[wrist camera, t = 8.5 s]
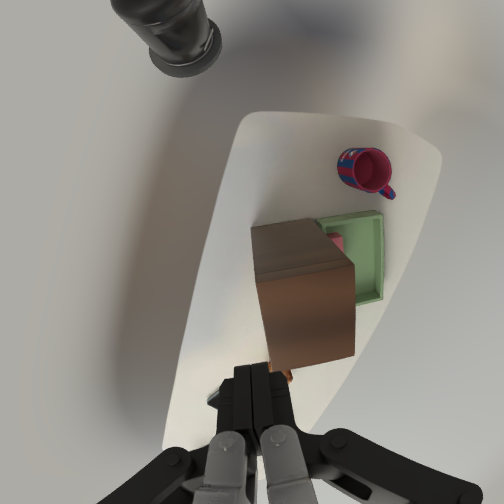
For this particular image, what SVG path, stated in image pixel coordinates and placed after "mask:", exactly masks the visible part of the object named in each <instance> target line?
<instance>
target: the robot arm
mask: <svg viewBox="0 0 504 504" xmlns="http://www.w3.org/2000/svg"><path fill="white" fill-rule="evenodd" d="M110 1H111V5H112V8H113V10H114V11H115V12H116V14H118V16H119V17H121V19H123V20H124V21H125V22H126V23H127V24H128V25H129V26H130V27H131V28H132V29H133V30H134V31H135V32H136V33H137V34H138V35H139V36H140V38H141V39H142V40H143V41H144V42H145V43H146V44H147V45H148V46H149V47H150V48H151V49H152V50H153V51H154V52H155V53H156V54H157V56H158V57H159V59H160V60H161V61H162V62H164V63H165V64H167V65H169V66H173V67H186V66H190V65H193V64H195V63H197V62H199V61H200V60H202V59H203V58H204V57H205V56H206V55H207V54H208V53H209V51H210V49H211V47H212V44H213V35H212V33H213V28H212V31H211V29H210V26H209V22H208V18H207V15H206V11H205V8H204V5H203V1H202V0H110ZM218 405H219V406H218V415H217V430H216V435H215V436H214V437H213V438H212V440H211V441H210V443H209V444H208V445H206V446H204V447H202V448H199V449H196V450H192V451H189V452H188V451H187V450H185V449H184V448H181V447H171V448H168V449H166V450H164V451H163V452H162V453H161V454H160V455H158V456H157V457H156V458H155V459H154V460H152V461H151V462H150V463H149V464H148V465H146V466H145V467H144V468H143V469H141V470H140V471H139V472H138V473H136V474H135V475H134V476H133V477H132V478H130V479H129V480H128V481H126V482H125V483H124V484H123V485H121V486H120V487H119V488H117V489H116V490H115V491H113V492H112V493H111V494H109V495H108V496H107V497H105V498H104V499H103V500H101V501H100V502H98V503H97V504H257V480H258V469H257V456H261V455H262V456H263V462H264V468H265V474H266V479H267V494H268V500H269V504H318V501H317V498H316V495H315V491H314V488H313V484H312V481H311V479H322V480H323V481H325V482H326V483H328V484H329V485H331V486H332V487H334V488H336V489H337V490H339V491H341V492H342V493H344V494H346V495H348V496H349V497H351V498H353V499H355V500H356V501H358V502H360V503H362V504H481V503H482V500H483V493H482V490H481V488H480V487H479V486H478V485H476V484H474V483H471V482H468V481H465V480H462V479H459V478H456V477H453V476H450V475H447V474H445V473H442V472H439V471H437V470H434V469H432V468H429V467H427V466H424V465H422V464H419V463H417V462H415V461H412V460H410V459H408V458H406V457H403V456H401V455H399V454H397V453H395V452H392V451H390V450H388V449H386V448H384V447H382V446H380V445H378V444H376V443H374V442H372V441H370V440H368V439H366V438H364V437H362V436H360V435H358V434H356V433H354V432H352V431H350V430H348V429H344V428H337V429H333V430H330V431H328V432H327V433H326V434H324V435H314V434H308V433H305V432H303V431H301V430H300V429H299V428H298V427H297V426H296V424H295V420H294V414H293V409H292V403H291V398H290V392H289V387H288V381H287V377H286V376H285V375H284V374H283V373H282V371H276V372H270V371H269V366H268V362H261V363H255V364H251V365H250V364H249V365H242V366H235V367H234V378H229V379H224V381H223V382H222V384H221V386H220V388H219V400H218Z"/></svg>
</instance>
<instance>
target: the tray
mask: <svg viewBox="0 0 504 504" xmlns="http://www.w3.org/2000/svg"><path fill="white" fill-rule="evenodd" d="M317 226H318V227H319V228H320V229H321V230H322V231H323V232H324V233H325V234H328V233H334V232H338V233H339V234H340V235H341V236H342V237H343V249H344V254H345V255H346V256H347V257H348V258H349V259H350V260H351V261H352V262H353V263H354V264H355V291H356V306H359V305H363V304H367V303H371V302H375V301H379V300H383V284H384V234H383V214H381V213H379V212H377V211H375V210H371V211H365V212H358V213H352V214H345V215H339V216H332V217H326V218H320V219H317Z"/></svg>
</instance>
